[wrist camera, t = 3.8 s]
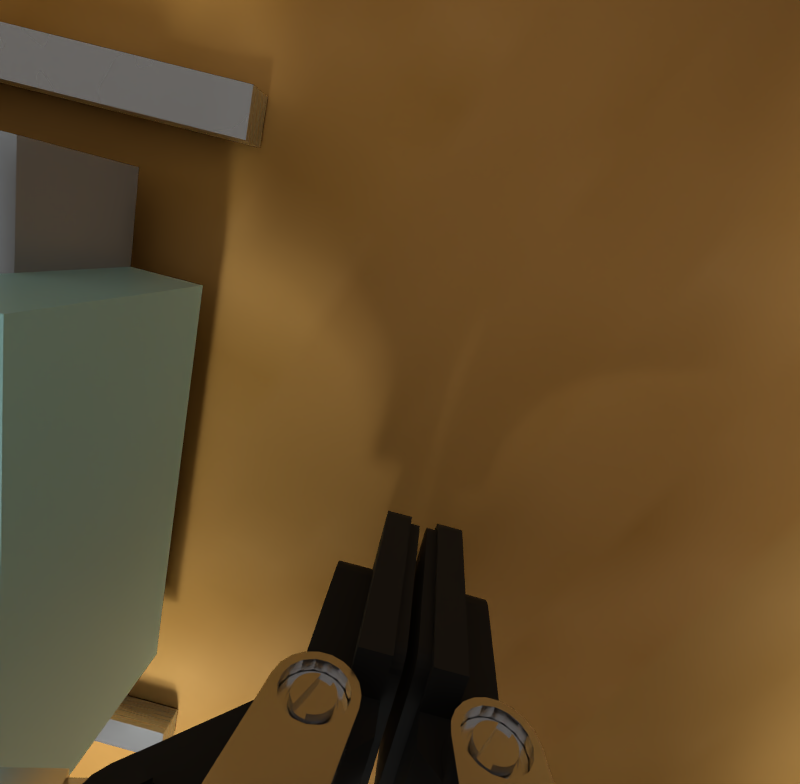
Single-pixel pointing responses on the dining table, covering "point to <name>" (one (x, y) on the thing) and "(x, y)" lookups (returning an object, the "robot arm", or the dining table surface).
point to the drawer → (81, 446)
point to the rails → (153, 100)
